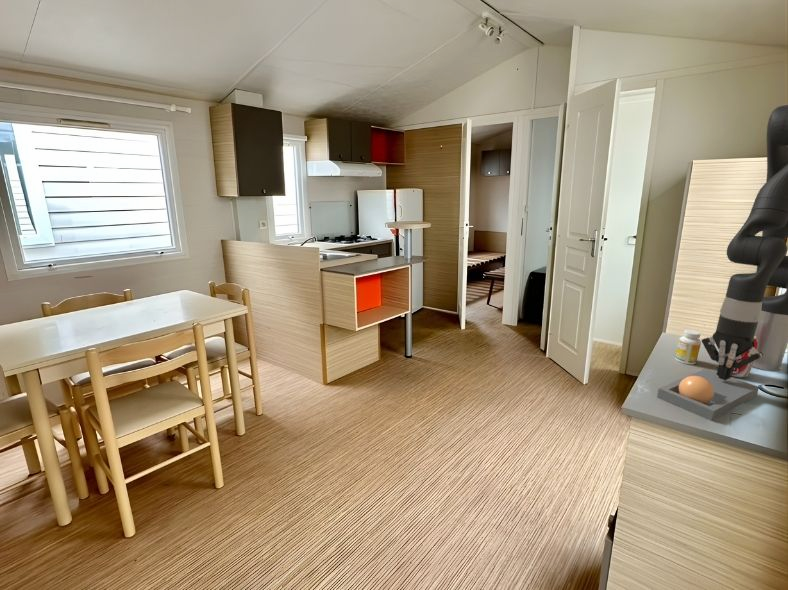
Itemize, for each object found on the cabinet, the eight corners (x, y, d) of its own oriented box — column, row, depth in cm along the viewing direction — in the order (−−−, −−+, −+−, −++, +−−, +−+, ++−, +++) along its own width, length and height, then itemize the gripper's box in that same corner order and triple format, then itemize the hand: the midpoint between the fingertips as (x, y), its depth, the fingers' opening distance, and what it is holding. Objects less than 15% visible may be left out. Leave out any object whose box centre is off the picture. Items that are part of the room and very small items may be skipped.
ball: (685, 366, 101) (670, 387, 100) (718, 377, 95) (702, 400, 94) (690, 381, 105) (675, 402, 103) (722, 393, 99) (707, 415, 97)
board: (703, 376, 114) (705, 368, 114) (756, 395, 104) (759, 387, 104) (656, 397, 103) (658, 388, 102) (711, 420, 93) (713, 411, 92)
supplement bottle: (675, 362, 123) (681, 332, 121) (674, 356, 128) (680, 327, 125) (696, 366, 121) (703, 336, 118) (695, 360, 125) (702, 331, 122)
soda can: (754, 380, 113) (766, 340, 109) (725, 377, 114) (736, 337, 111) (739, 369, 119) (749, 331, 116) (712, 367, 121) (721, 329, 117)
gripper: (779, 321, 98) (760, 386, 102) (715, 306, 109) (701, 365, 113) (766, 326, 94) (747, 393, 99) (701, 310, 105) (687, 371, 110)
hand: (723, 378), depth 106 cm, fingers closed
